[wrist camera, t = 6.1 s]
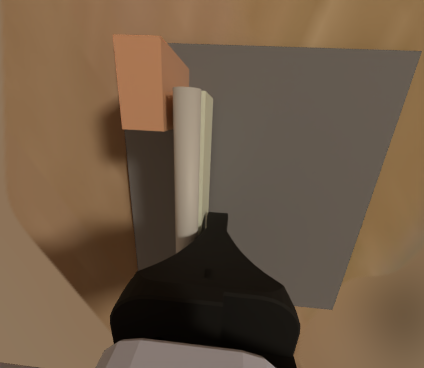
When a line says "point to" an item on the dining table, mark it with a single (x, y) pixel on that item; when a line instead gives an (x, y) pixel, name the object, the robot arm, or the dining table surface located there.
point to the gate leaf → (191, 162)
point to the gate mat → (280, 157)
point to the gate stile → (147, 81)
